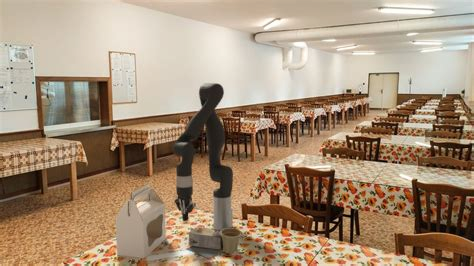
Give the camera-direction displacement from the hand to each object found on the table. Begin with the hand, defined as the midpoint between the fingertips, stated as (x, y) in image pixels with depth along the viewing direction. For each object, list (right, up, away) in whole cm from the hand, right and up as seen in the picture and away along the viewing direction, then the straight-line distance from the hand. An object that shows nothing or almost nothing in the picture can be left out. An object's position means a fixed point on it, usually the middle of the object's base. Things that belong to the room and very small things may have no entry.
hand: (185, 220), depth 173 cm
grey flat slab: (+10, -12, -7) cm, 17 cm away
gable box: (-19, -12, -2) cm, 23 cm away
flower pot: (+21, -12, -7) cm, 25 cm away
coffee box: (+3, -7, 0) cm, 8 cm away
